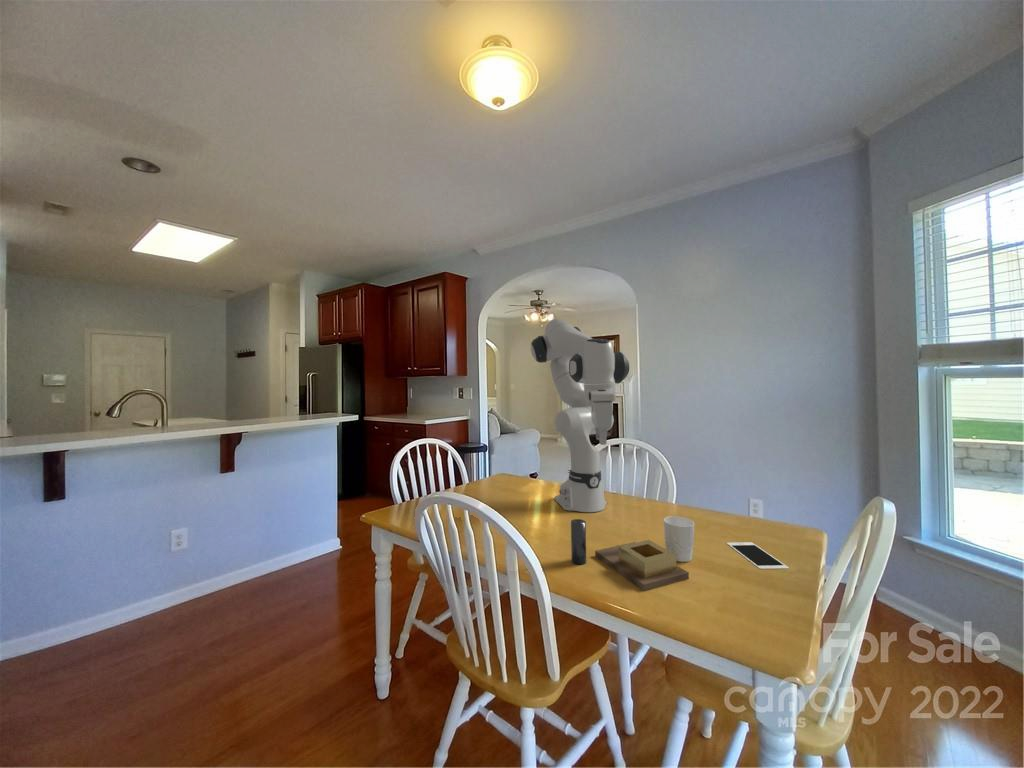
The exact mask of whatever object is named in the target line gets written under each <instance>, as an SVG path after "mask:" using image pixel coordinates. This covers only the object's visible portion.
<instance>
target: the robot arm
mask: <svg viewBox="0 0 1024 768" xmlns="http://www.w3.org/2000/svg"><path fill="white" fill-rule="evenodd" d="M544 332H545V334H542V335H539V336H537V337H536V338H534V339H533V340H532V341H531V343H530V352H531V355H532V357H533V359H534V360H535V361H536V362H537V363H547V362H549V361H550V364H549V365H550V367H549V368H550V372H551V377H552V380H553V383H554V386H555V388H556V390H557V393H558V395H559V398H560V400H561V401H562V402H563V403H564V404H566V405H568V406H570V407H568V408H565V409H562V410H559V411H558V412H557V413H556V415H555V419H554V427H555V429H556V431H557V432H558V434H560V435H561V436H562V437H563V438H564V439H565V441H566V443H567V446H568V448H569V452H570V453H569V454H570V469H568V470H567V471H568V472H567V473H568V478H567V480H565V481H564V482H563V483H562V484H561V485H560V486H559V487H560V488H559V494H558V495H555V496H554V497H553V500H554V499H555V500H556V501H557V502H558V503H559V504H560V505H561V506H562V508H563V510H565V511H573V512H579V513H580V512H581V513H597V512H600V511H604V510H605V507H606V505H608V504H607V500H605V493H604V492H605V491H604V483H602V482H601V481H602V470H601V464H600V463H601V460H600V459H601V458H600V453H601V452H600V450H599V449H598V448H597V447H596V446H595V445H593V444H592V443H591V440H590V436H591V435H595V438H596V440H598V441H599V444H600V445H601V446H603V445H604V446H606V445H607V443H608V442H607V437H608V431H610V430H611V429H612V428H613V426H614V421H615V420H614V415H613V411H614V405H613V404H614V402H615V401H616V384H618V385H619V384H621V383H622V382H623V381H624V380H625V379H626V377H628V375H629V373H630V363H629V360H628V358H627V357H626V356H625V355H624V354H623V352H621V351H615V350H614V349H613V344H612V341H610V340H608V339H606V338H593V337H591V336H589V335H587V334H585V333H584V332H582V330H581V329H580V328H579V327H578V326H573V325H572V324H571V323H570V322H568V321H566V320H564V319H561V318H554V319H552V320H550V321H549V322H548V323H547V324H546V326H545V329H544ZM555 500H554V501H555ZM556 501H555V502H556ZM558 503H557V504H558ZM559 504H558V505H559ZM560 505H559V506H560ZM561 506H560V507H561Z"/></svg>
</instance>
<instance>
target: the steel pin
mask: <svg viewBox="0 0 1024 768" xmlns="http://www.w3.org/2000/svg"><path fill="white" fill-rule="evenodd" d="M570 542H571V543H570V544H571V548H570V549H571V553H570V554H571V556H570V557H571V558H570V559H571V563H572V564H574V565H575V566H576V565H577V566H583V565H586V564H587V522H586V520H584V519H572V520H570Z"/></svg>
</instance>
